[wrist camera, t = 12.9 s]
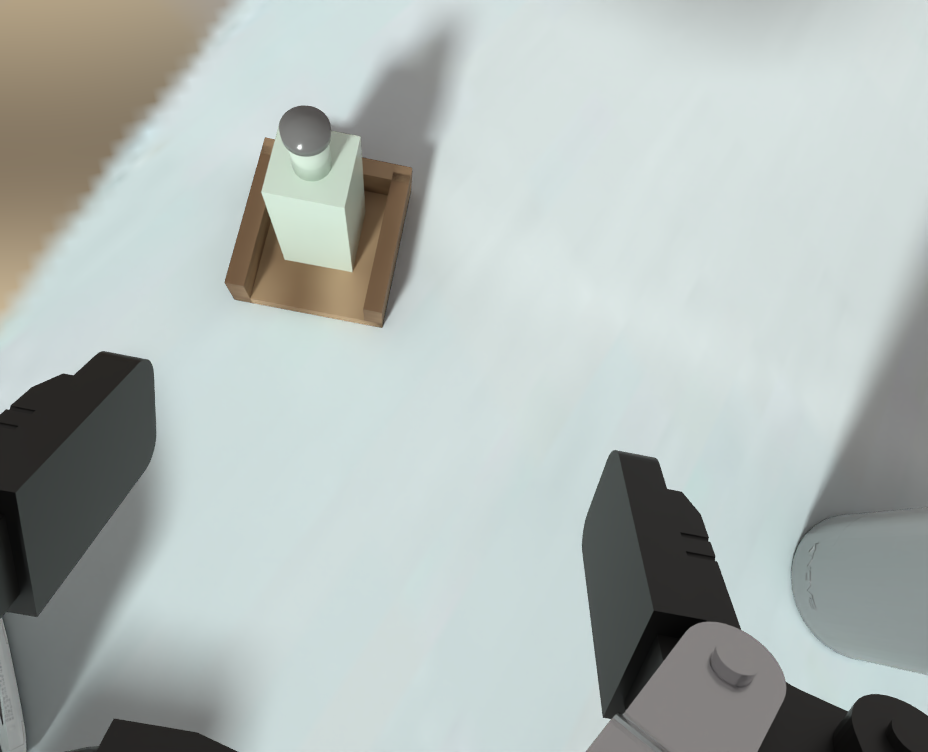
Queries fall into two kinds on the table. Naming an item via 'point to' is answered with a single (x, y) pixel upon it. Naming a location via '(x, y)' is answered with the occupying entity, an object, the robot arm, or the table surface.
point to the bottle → (315, 190)
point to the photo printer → (11, 697)
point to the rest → (315, 287)
